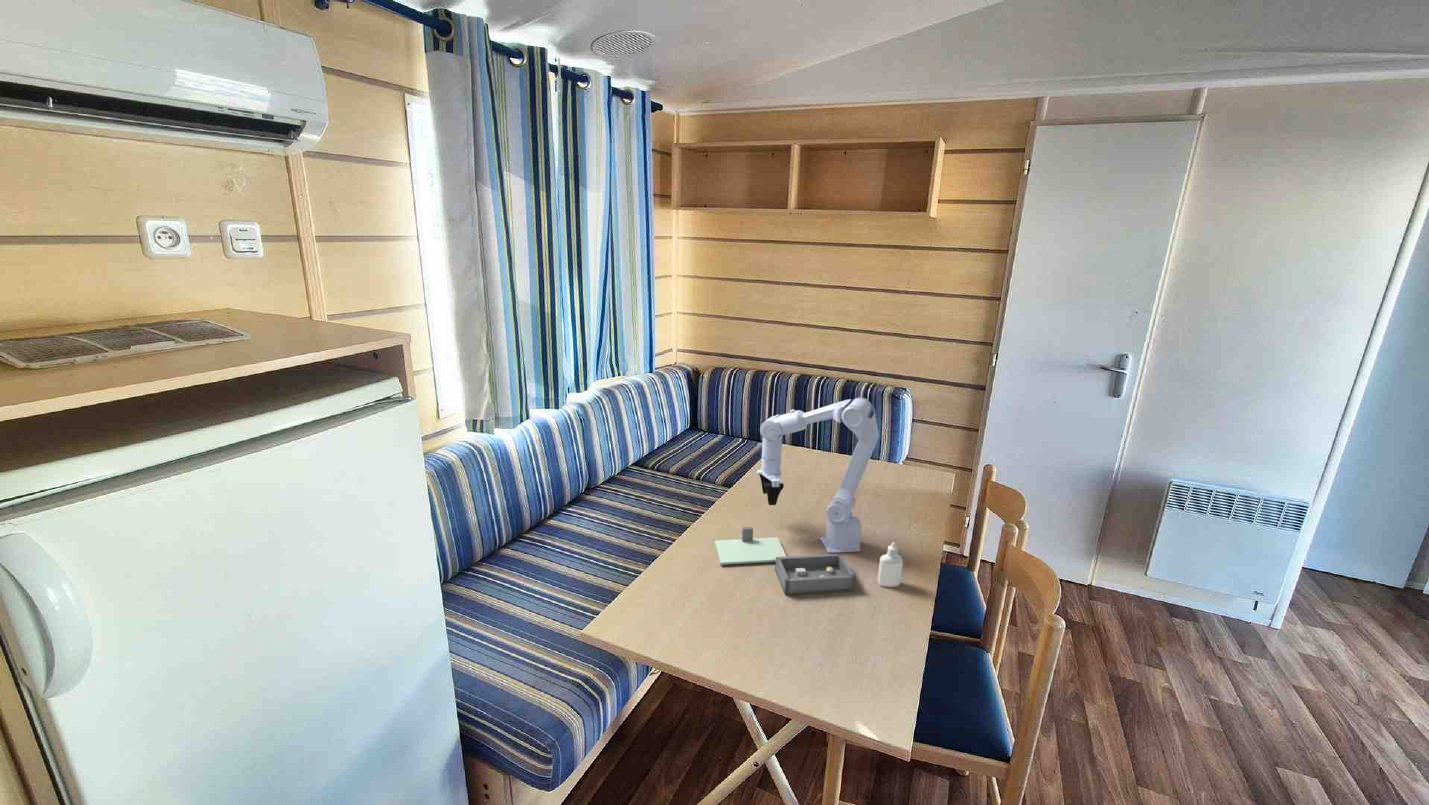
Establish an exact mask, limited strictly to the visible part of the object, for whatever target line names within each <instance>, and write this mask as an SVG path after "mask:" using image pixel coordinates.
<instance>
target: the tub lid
mask: <svg viewBox="0 0 1429 805" xmlns="http://www.w3.org/2000/svg"><path fill="white" fill-rule="evenodd" d="M714 544H715V548H716V552H717V556H718V560H719V564H720V565H721V566H722V565H723V566H724V565H736V564H738V565H739V564H740V565H741V564H754V563H755V564H756V563H772V562H773V563H774V562H776V557H787V555H786V553H785V550H784V548H783V545H782V543H781V542H780V539H779V537H776V536H775V537H759V538H758V537H757V538H754V528H753V526H744V527H743V526H742V527H741V538H739V539H720V540H719V539H718V540H714Z"/></svg>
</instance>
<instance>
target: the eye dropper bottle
mask: <svg viewBox="0 0 1429 805" xmlns="http://www.w3.org/2000/svg"><path fill="white" fill-rule="evenodd" d="M898 549H899V548H898V547H897V545H896V543H895V541H894V542H891V545H888V546H887V552H886V553H885V554H882V555H881V556H880V557H879V564H878V572H877V574H878V575H877V583H878V585H879V586H881V587H884V588H895V587H899V586H900V585H901V580H902V573H903V564H904V560H903V557H902V556H901V555H899V554H898V551H899V550H898Z"/></svg>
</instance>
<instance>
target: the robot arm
mask: <svg viewBox="0 0 1429 805" xmlns="http://www.w3.org/2000/svg"><path fill="white" fill-rule="evenodd" d="M828 420H834V421H835V422H837V423H838V424H841V423H842V422H843V424H844V425H845V426H846V427H847V428H848V429H849V430H850V431H851V432H852V433H854V434H855V437H856V438H857V439H858V441H857V443H856V445H855V448H854V450H853V453H852V454H851V455H852V456H851V458H850V460H849V462H848V465H847V467H846V470H845V473H844V476H843V477H842V480H841V482H840V486H839V488H838V489H837V492H836V493H835V494H834V496H833V498H832V500H831V501H830V503H829V504H828V505H827V506H826V509H825V514H826V528H825V536H823V537H822V536H821V537H820V540H821V543H822V544H823V546H824V548H825V549H826V551H827V554H840V553H854V552H861V548H860V547H861V546H860V545H861V536H862V525H861V521H860V518H859V517H858V516H854V515H853V513H852V510H853V509H854V508H855V506H856V495H857V490H858V488H859V486H860V484H861V481H862V479H863V476H864V473H865V471H866V469H867V467H868V464H869V463H870V462H869V461H870V459H871V457H872V455H873V452H874V450H875V447H876V445H877V442H878V440H879V437H880V434H879V433H880V432H879V428H878V424H877V416H876V410H875V407H874V406H873V405H872V403H871V401H869V399H867V398H865V397H856V398H855V397H854V399H851V398H850V399H845V400H841V401H838V402H835V403H831V404H829V405H825V406H822V407H819V408H816V409H813V410H810V411H807V412H804V411H802V410H800V409H797V410H796V409H791V410H789V412H787V413H784V414H779V413H778V414H776V415H773V416H769V418H768V419H766V420H764V421H763V422H762V424H760V426H759V427H760V428H759V431H760V435H761V436H762V445H761V463H760V469H757V470H756V473H757V475H759V478H760V481H761V488H762V493H763V494H766V496H767V497H766V498H767V503H768V506H776V505H777V503H778V499H779V496H780V494H781V492H782V490H783V488H784V486H785V484H784V483H782V482H780V479H781V475H782V471H781V466H782V451H783V450H782V448H783V447H782V446H783V443H782V441H783V436H784V435H785V436H786V435H789V434H793V433H797V432H800V431H804V430H806V429H807V426H808V425H810V424H813V423H817V422H818V423H819V422H822V421H828Z"/></svg>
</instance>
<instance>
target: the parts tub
mask: <svg viewBox="0 0 1429 805" xmlns="http://www.w3.org/2000/svg"><path fill="white" fill-rule="evenodd" d="M774 564H775V566H774V570H775V571H774V572H775V573H776V577H777V579H778V581H779V583H780V586H781V589H782V591H783V594H784V595H785V596H790V595H807V594H821V593H822V594H824V593H838V592H841V593H842V592H853V591H855V585H856V575H855V573H854V572H853V571H852V569H851V567H850V566H849V564H848V563H847V561H846V559H845V558H844V557H843V554H842V553H826V554H825V553H823V554H812V555H809V554H808V555H793V556H791V555H790V556H786V557H776V562H775V563H774Z"/></svg>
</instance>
